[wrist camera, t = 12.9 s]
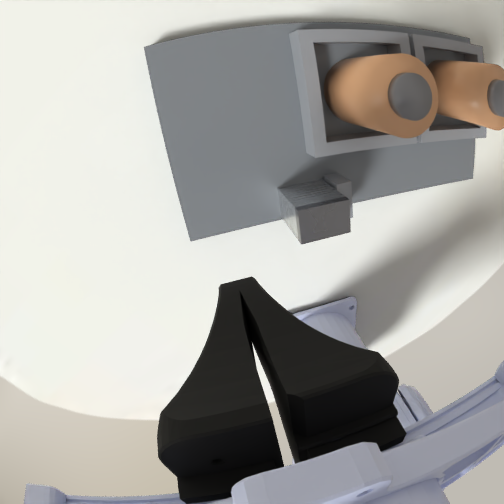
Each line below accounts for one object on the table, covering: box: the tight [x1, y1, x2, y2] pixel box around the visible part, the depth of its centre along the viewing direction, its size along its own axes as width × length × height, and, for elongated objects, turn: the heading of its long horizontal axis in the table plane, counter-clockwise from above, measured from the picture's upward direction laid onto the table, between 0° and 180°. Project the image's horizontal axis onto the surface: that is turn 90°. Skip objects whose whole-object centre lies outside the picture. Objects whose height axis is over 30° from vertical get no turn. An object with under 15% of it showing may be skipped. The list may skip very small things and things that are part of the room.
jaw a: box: [427, 60, 504, 130], centre depth 16 cm, size 4×4×6 cm
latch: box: [277, 179, 350, 244], centre depth 19 cm, size 2×3×4 cm, turn 99°
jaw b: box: [324, 53, 438, 138], centre depth 15 cm, size 4×4×6 cm
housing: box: [144, 22, 486, 241], centre depth 18 cm, size 12×24×3 cm, turn 99°
